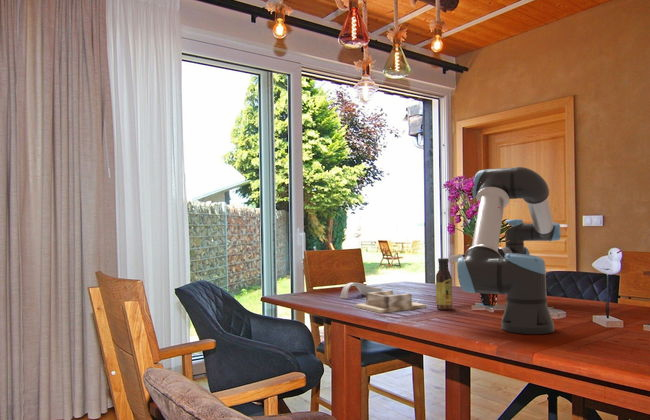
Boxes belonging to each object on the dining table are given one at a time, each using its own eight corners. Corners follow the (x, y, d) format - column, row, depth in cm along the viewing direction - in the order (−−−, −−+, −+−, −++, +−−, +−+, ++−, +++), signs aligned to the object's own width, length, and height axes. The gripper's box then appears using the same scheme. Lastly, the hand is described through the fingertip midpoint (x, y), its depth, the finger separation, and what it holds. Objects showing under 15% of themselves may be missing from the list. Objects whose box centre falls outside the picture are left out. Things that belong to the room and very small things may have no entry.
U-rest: (380, 313, 188) (380, 298, 188) (355, 307, 204) (355, 293, 204) (425, 307, 198) (425, 293, 198) (398, 302, 214) (398, 288, 214)
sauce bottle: (448, 310, 190) (447, 259, 190) (433, 309, 193) (432, 258, 194) (455, 308, 195) (453, 257, 196) (440, 307, 199) (439, 257, 199)
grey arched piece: (369, 292, 248) (369, 278, 249) (387, 294, 240) (387, 280, 240) (335, 298, 233) (334, 282, 233) (352, 300, 224) (352, 284, 224)
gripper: (523, 267, 199) (485, 271, 189) (477, 263, 221) (441, 267, 211) (522, 248, 199) (484, 251, 189) (476, 246, 221) (440, 249, 211)
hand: (461, 259), depth 200 cm, fingers open, 13 cm apart
